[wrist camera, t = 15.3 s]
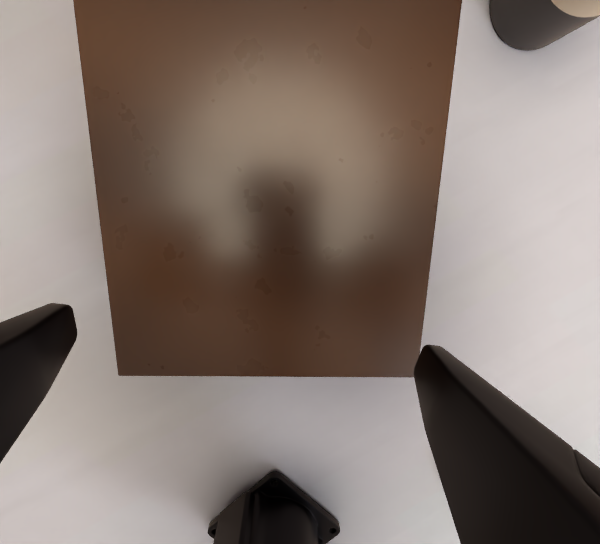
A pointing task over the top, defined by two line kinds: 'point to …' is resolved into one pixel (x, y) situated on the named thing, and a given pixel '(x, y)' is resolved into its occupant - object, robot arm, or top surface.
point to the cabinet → (267, 179)
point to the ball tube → (539, 20)
